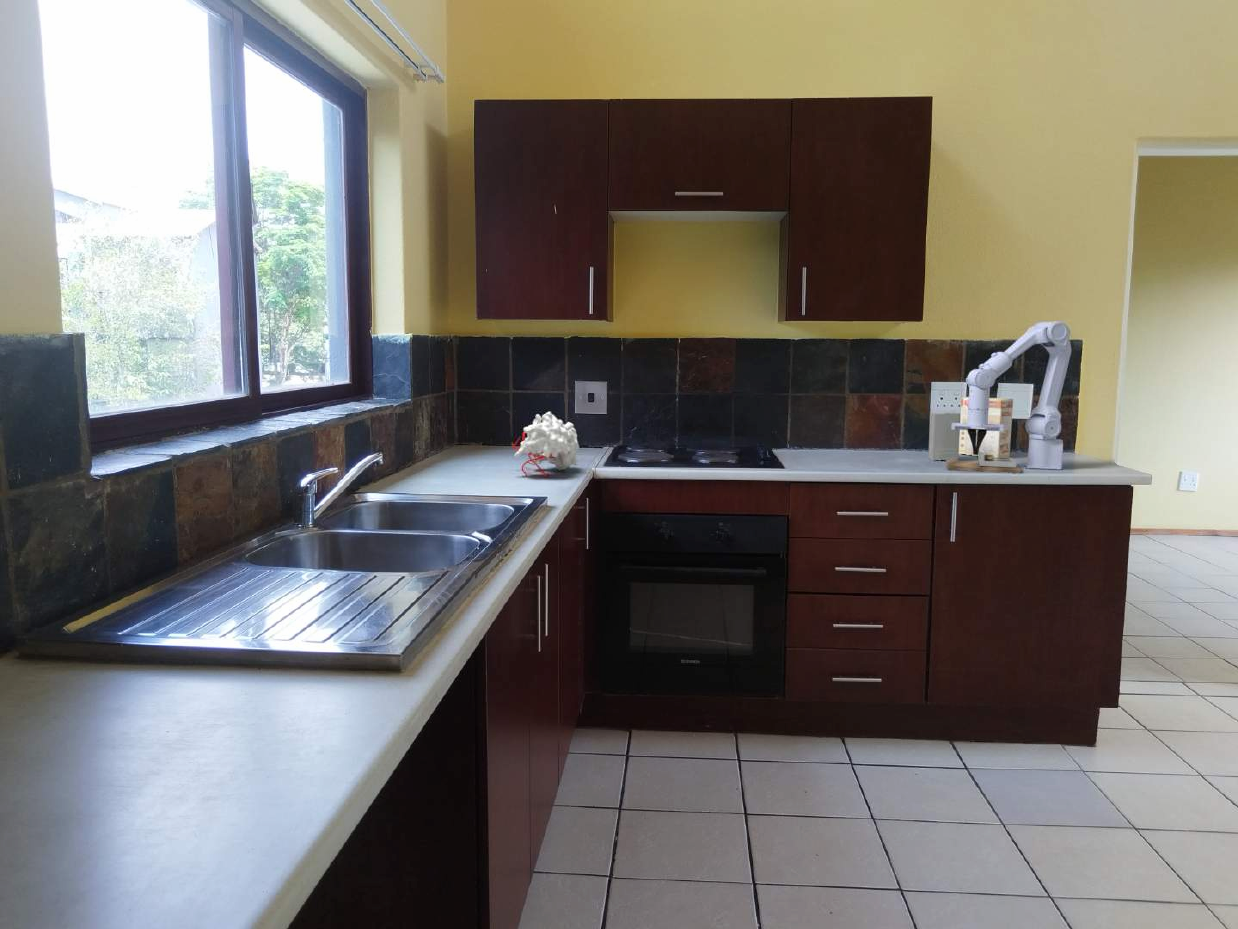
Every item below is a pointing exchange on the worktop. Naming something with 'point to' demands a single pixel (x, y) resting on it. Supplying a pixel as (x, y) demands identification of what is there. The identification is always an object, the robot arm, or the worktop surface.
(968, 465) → the board
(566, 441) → the molecular structure model
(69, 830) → the worktop surface
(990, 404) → the coffeecake box
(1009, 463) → the panel
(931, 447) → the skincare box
